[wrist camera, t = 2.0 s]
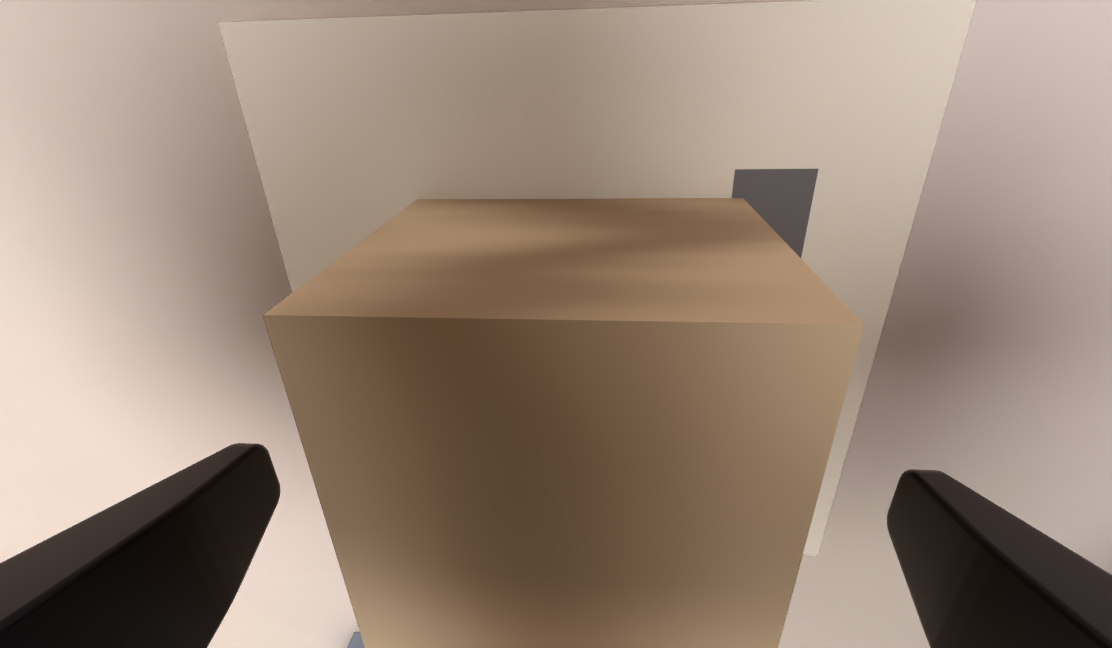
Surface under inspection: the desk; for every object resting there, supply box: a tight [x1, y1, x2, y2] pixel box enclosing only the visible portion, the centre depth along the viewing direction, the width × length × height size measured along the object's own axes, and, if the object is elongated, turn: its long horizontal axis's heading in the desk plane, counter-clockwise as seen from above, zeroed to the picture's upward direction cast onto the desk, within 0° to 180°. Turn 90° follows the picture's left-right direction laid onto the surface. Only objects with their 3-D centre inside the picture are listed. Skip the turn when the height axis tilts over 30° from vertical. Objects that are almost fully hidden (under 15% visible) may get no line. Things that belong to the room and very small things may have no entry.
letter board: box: [218, 0, 977, 556], centre depth 11 cm, size 12×12×1 cm
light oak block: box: [263, 198, 864, 648], centre depth 9 cm, size 6×6×5 cm
